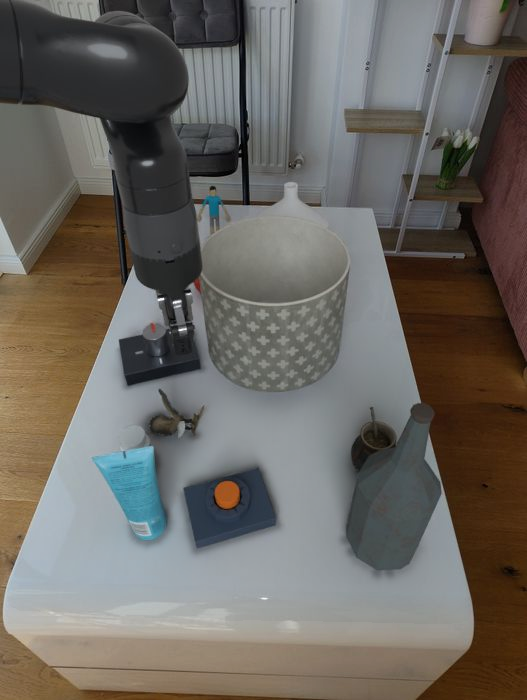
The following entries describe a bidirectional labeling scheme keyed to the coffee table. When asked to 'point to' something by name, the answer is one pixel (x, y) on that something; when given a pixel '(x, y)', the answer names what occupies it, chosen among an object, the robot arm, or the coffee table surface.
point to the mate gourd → (372, 440)
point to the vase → (294, 207)
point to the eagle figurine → (173, 420)
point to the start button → (227, 494)
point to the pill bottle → (133, 438)
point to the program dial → (155, 339)
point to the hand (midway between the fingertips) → (183, 350)
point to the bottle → (394, 498)
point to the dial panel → (154, 361)
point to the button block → (233, 522)
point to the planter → (274, 301)
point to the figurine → (213, 209)
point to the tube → (135, 489)
